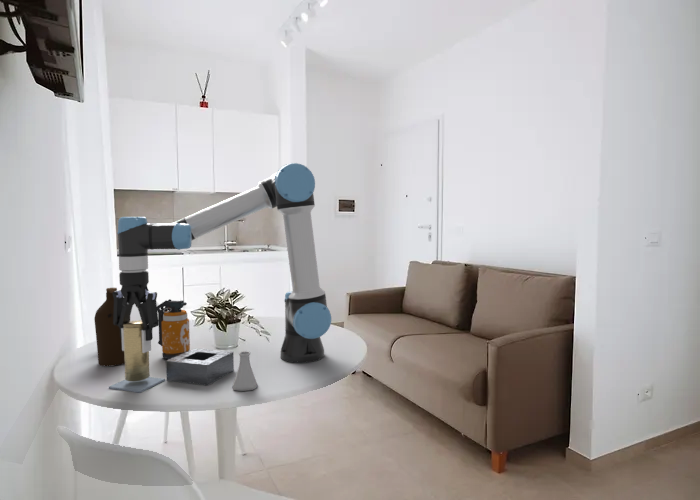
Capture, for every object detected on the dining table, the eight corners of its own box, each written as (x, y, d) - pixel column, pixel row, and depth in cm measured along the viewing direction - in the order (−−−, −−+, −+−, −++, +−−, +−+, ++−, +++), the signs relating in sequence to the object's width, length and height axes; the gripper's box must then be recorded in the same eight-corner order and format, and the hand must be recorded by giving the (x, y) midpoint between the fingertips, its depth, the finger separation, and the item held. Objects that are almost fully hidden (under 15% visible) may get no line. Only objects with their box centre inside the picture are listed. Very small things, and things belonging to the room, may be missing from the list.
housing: (233, 370, 145) (233, 351, 145) (207, 385, 132) (207, 364, 131) (195, 366, 149) (195, 348, 149) (166, 380, 136) (166, 360, 135)
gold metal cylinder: (154, 374, 135) (152, 321, 134) (138, 382, 129) (136, 325, 128) (136, 372, 137) (134, 319, 136) (120, 380, 130) (118, 324, 129)
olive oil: (137, 361, 154) (134, 287, 153) (103, 369, 146) (100, 291, 145) (123, 355, 161) (121, 285, 160) (91, 362, 153) (88, 288, 152)
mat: (165, 380, 136) (165, 378, 136) (140, 392, 126) (140, 390, 126) (134, 376, 139) (134, 375, 139) (108, 388, 130) (108, 386, 130)
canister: (180, 361, 154) (179, 302, 153) (151, 359, 157) (149, 301, 155) (195, 353, 163) (193, 298, 162) (167, 352, 165) (165, 297, 164)
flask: (260, 382, 134) (259, 349, 133) (255, 391, 127) (255, 356, 126) (235, 382, 134) (234, 349, 133) (229, 392, 127) (228, 356, 126)
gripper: (171, 270, 131) (173, 349, 133) (116, 268, 137) (119, 344, 139) (152, 273, 124) (155, 357, 126) (96, 271, 130) (99, 351, 131)
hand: (136, 350), depth 132 cm, fingers closed on gold metal cylinder, 6 cm apart
